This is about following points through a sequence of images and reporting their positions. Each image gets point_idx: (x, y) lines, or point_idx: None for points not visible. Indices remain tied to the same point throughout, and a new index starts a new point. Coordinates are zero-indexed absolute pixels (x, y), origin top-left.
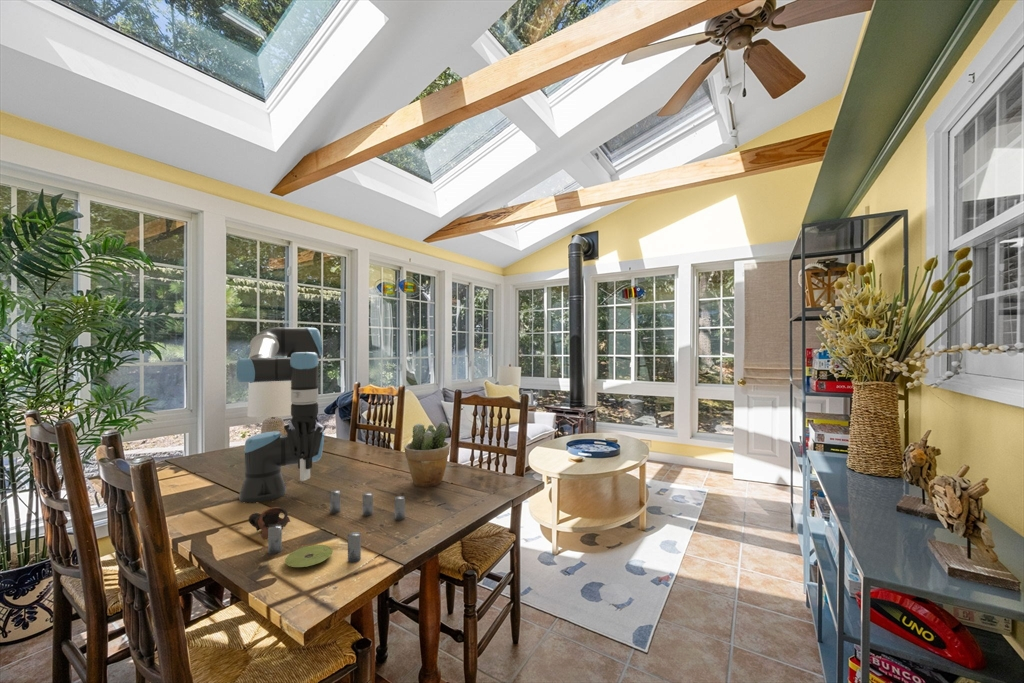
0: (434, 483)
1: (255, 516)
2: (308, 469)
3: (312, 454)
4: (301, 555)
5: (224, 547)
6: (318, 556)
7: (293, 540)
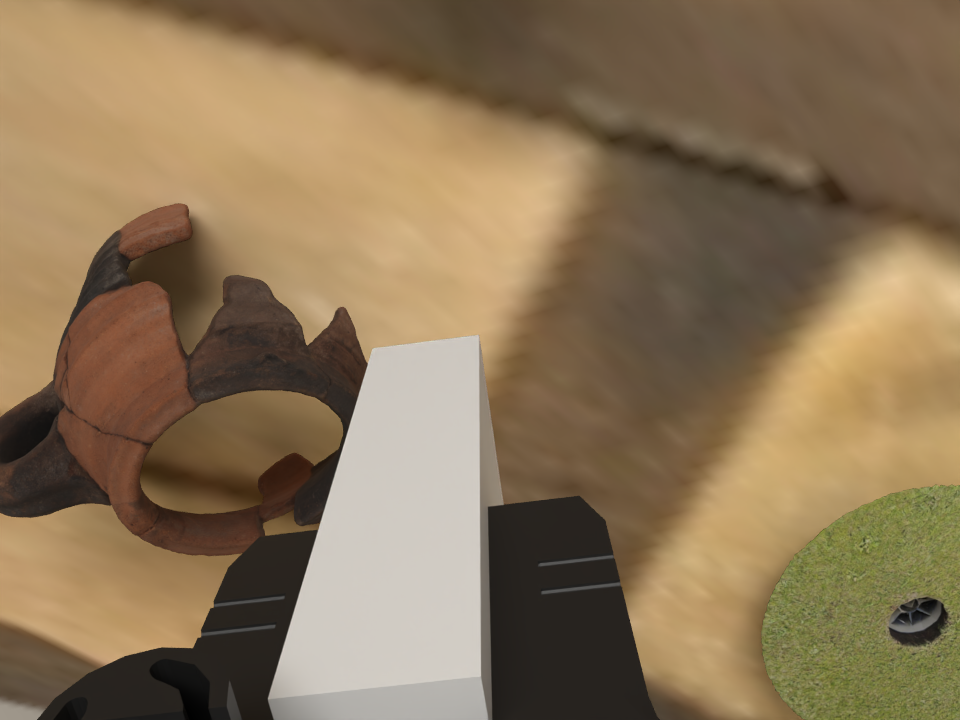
0: None
1: (60, 506)
2: (489, 492)
3: None
4: (860, 636)
5: (125, 616)
6: None
7: (529, 393)
